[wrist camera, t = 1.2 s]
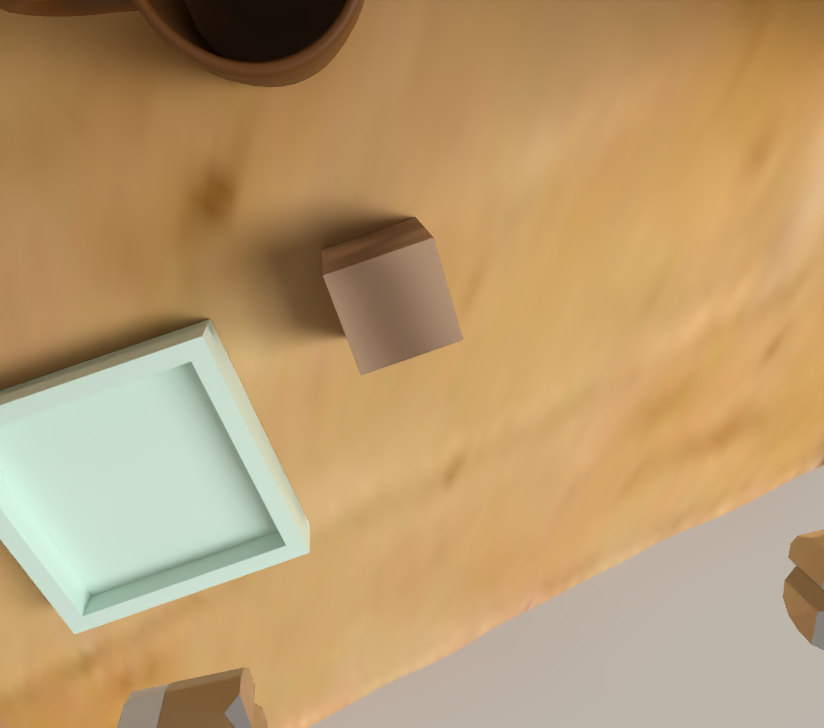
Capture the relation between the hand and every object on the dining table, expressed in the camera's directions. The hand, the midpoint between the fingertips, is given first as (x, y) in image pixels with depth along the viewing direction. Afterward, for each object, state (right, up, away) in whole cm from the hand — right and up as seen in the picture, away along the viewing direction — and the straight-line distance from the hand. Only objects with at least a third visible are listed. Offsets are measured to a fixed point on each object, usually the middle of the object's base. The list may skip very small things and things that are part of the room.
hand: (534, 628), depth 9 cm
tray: (-17, -2, +25) cm, 30 cm away
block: (-3, +8, +23) cm, 24 cm away
